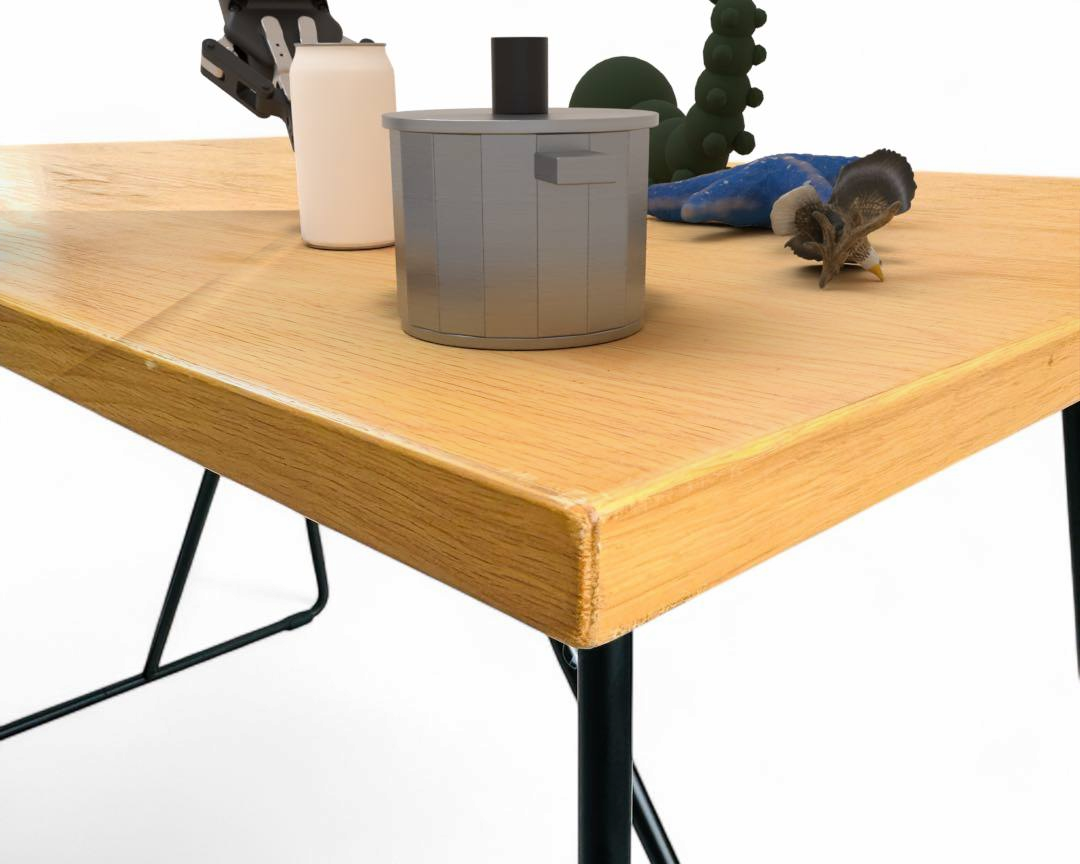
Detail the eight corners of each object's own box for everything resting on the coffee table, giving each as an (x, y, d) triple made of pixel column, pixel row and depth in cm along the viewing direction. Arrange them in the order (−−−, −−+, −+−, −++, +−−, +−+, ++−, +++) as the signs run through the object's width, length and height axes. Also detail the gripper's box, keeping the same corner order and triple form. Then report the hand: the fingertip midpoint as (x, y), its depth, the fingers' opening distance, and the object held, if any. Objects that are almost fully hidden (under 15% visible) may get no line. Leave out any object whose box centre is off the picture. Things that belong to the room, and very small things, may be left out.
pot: (450, 374, 46) (443, 140, 43) (367, 298, 61) (357, 119, 57) (712, 352, 49) (722, 133, 46) (574, 285, 64) (575, 114, 61)
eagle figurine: (940, 272, 60) (946, 216, 67) (869, 148, 58) (883, 104, 65) (805, 342, 64) (824, 282, 71) (734, 228, 62) (762, 179, 69)
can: (338, 253, 74) (324, 42, 70) (282, 242, 79) (266, 43, 74) (422, 243, 78) (414, 42, 74) (364, 233, 83) (354, 43, 78)
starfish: (694, 204, 97) (696, 139, 95) (925, 220, 88) (933, 148, 86) (570, 232, 83) (570, 156, 81) (831, 254, 73) (838, 168, 71)
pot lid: (418, 153, 45) (413, 35, 44) (359, 135, 56) (353, 39, 54) (705, 145, 49) (710, 34, 47) (599, 129, 59) (600, 38, 58)
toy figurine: (776, 228, 96) (619, 174, 116) (808, -35, 88) (633, -46, 108) (676, 236, 92) (531, 178, 112) (699, -39, 84) (538, -49, 104)
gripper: (171, -79, 83) (224, 119, 77) (358, -72, 88) (421, 113, 82) (169, 9, 89) (217, 197, 84) (343, 10, 94) (400, 187, 89)
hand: (318, 155), depth 83 cm, fingers closed
